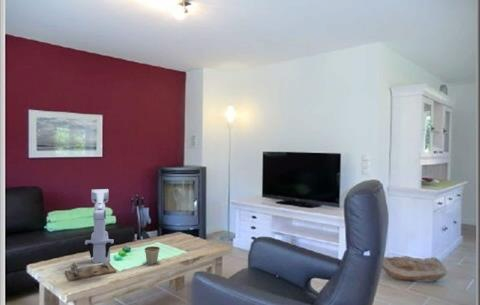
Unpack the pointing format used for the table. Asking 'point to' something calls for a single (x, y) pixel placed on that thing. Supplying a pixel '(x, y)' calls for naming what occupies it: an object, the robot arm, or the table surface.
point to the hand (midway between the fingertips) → (99, 256)
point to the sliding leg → (106, 262)
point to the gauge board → (87, 272)
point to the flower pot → (152, 254)
